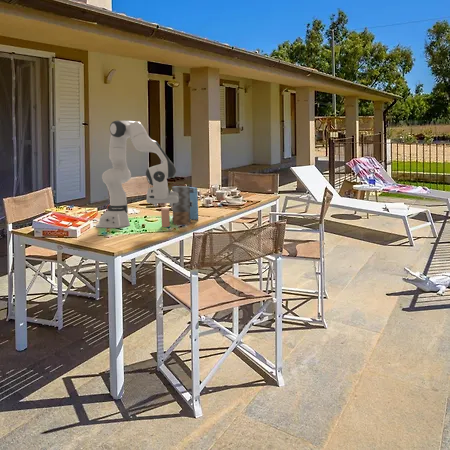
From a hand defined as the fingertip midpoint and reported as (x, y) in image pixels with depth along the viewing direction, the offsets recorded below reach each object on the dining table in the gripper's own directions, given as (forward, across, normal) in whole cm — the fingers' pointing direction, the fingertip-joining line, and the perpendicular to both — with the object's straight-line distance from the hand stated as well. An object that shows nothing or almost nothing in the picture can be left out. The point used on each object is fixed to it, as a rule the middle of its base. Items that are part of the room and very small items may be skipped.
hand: (163, 205), depth 324 cm
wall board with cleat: (+26, -10, -3) cm, 28 cm away
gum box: (+41, -12, -18) cm, 46 cm away
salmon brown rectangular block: (+19, 0, +3) cm, 20 cm away
